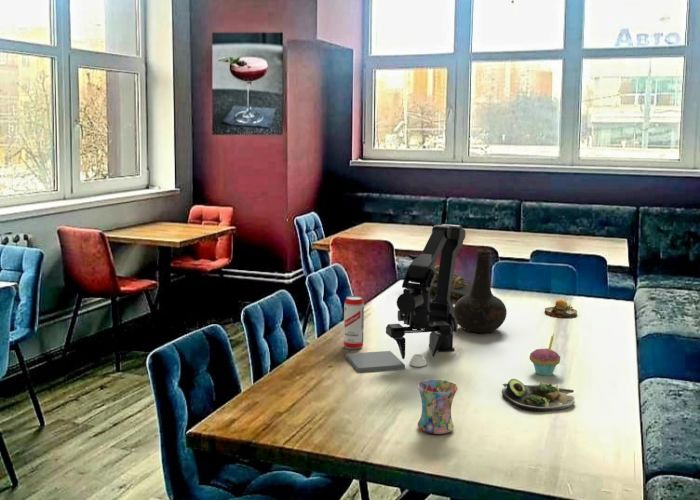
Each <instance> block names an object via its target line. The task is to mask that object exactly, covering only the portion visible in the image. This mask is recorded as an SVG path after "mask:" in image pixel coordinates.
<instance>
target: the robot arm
mask: <svg viewBox="0 0 700 500" xmlns="http://www.w3.org/2000/svg"><path fill="white" fill-rule="evenodd" d="M466 234H467V233H466V230H465V228H464V227H463V226H462V225H459V224H449V223H447V224H445V223H442V224H441V225H440V224H435V225H433V226H432V229H431V234H430V236H429V238H428V240H427V242H426V244H425V246H424V248H423V250H422V252H421V253H420V255H419V256H417V257H415V258H414V259H413V260H411V262H410V264H409V265H408V267H407V269H406V270H407V271H405V274H404V279H403V282H402V285H401V287H402V288H403V289H402V290H403V292H402V293H401V294H399V296H398V297H397V299H396V306H397V309H398V310H397V321H398V322H403V325H406V326H403V325H402V324H400V323H388V324H387V325H386V327H385V334H386V335H387V336H388V337H390V338H391V339H393V340H394V341H396V344H397V346H398V349H399V352H400V356H401V359H402V360H405V358H406V338H405V337H404V336H405V335H406V334H417V333H418V334H419V333H429V336H428V337H429V339H428V340H429V341H428V347H429V348H431V351H430V353H431V357H432V358H434V357H435V356H436V353H437V352H445V351H447V352H448V351H455V347H453V346H454V345H453V340H454V333H457V332H458V327H459V324H458V322H457V319H456V317H455V315H454V304H453V302H452V300H451V297H452V296H451V290H452V282H453V275H454V274H455V267H456V260H457V259H456V257H457V254H458V252H459V251H460V250H461V248H462V247H463V246H464V245H463V244H464V241H465V238H466ZM439 257H440V259H439ZM438 259H439V264H438V265H439V273H438V280H437V288H436V293H435V296H434V298H433V300H431V293H430V289H431V288H432V284H433V281H434V279H435V276H436V274H435V273H436V271H435V267H434V266H436V265H435V263H436V264H437V260H438ZM454 276H455V275H454Z"/></svg>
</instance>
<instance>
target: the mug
mask: <svg viewBox="0 0 700 500" xmlns="http://www.w3.org/2000/svg"><path fill="white" fill-rule="evenodd" d="M416 386H417V389H418V392H419V394H420V395H419V396H420V399H421V414H420V418H419V420H418V421H417V427H418V428H419V430H421V431H422V432H425V433H428V434H433V435H434V434H435V435H441V434H448V433H449V432H452V431H453V430H455V429H454V428H455V425H454V422H453V419H452V418H453V417H452V405H453V400H454V397H455V396H456V393H457V391H458V388H459V387H458V385H457V384H456V383H455V382H452V381H449V380H445V379H435V378H433V379H431V378H430V379H425V380H421V381H419V382H418V383H417V385H416Z"/></svg>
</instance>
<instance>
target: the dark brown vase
mask: <svg viewBox="0 0 700 500" xmlns="http://www.w3.org/2000/svg"><path fill="white" fill-rule="evenodd" d="M476 252H477V253H476V255H475V257H476V265H475V266H476V267H475V272H474V279H473V283H472V284H473V286H472V288H471V291H470V292H469V293H468V294H467V295H462V296H461V297H459V298H458V300H457V301H456V302H455V305H453V307H454V315H455V317H456V319H457V322H458V327H460V328H462V329H463V330H466V331H468V332H470V333H471V332H472V333H477V334H487V333H489V334H490V333H493V332H495V331H496V330H498V329H499V328H500V327H501V326H502V325H503V324H504V322H505V320H506V318H507V312H508V311H507V307H506V304H505V303H504V302H503V300H502V299H500V298H499V297H497V296H496V295H494V294H493V293H492V288H491V268H490V267H491V266H490V265H491V259H492V258H493V255H491V252H492V251H491V250H489V249H478V250H477V251H476Z"/></svg>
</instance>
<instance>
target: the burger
mask: <svg viewBox="0 0 700 500" xmlns="http://www.w3.org/2000/svg"><path fill="white" fill-rule="evenodd" d="M544 314H545V315H546V316H552V317H553V318H560V319H570V318H576V317H578V310H576V309H574V306H572V305H571V304H568V302H567V301H566V300H565V299H563V298H561V299H557V300H556V301H555V303H554V306H548V307H545V308H544Z"/></svg>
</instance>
